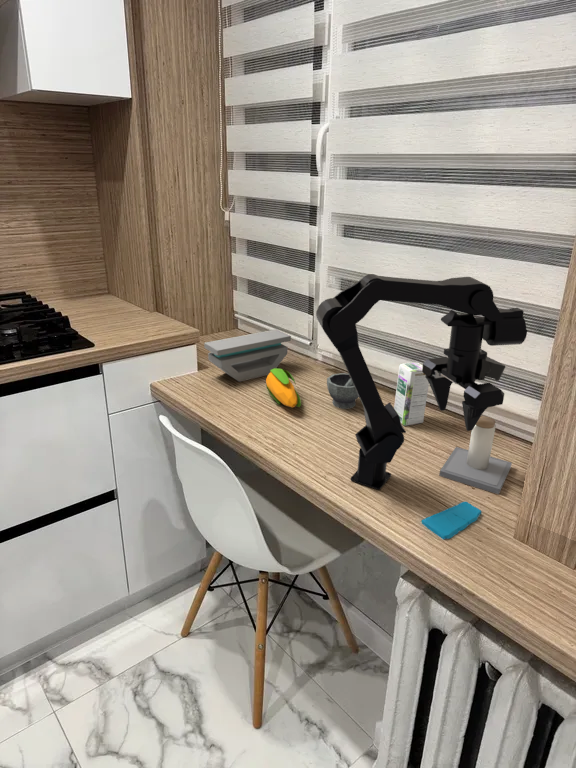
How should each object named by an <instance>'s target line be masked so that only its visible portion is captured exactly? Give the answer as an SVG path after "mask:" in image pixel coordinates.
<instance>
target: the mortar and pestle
mask: <svg viewBox="0 0 576 768" xmlns="http://www.w3.org/2000/svg"><path fill="white" fill-rule="evenodd" d="M326 387H327V391H328V394H329V396H330V398H332V405H333V407H335V408H338V409H342V410H346V409H347V410H348V409H353V408H354V407H356V402H357V401H356V400H357V399H358V398H359V396H358V394H357V391H356V389H355V387H354V385H353V382H352V380H351V378H350V376H349V373H344V372H341V373H334V374H330V375H329V376H328V377H327V378H326Z"/></svg>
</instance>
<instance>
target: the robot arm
mask: <svg viewBox="0 0 576 768" xmlns="http://www.w3.org/2000/svg"><path fill="white" fill-rule="evenodd" d="M379 301H386V302H397V303H398V302H399V303H411V304H421V305H424V304H425V305H435V306H441V307H445V308H448V309H451V310H450V311H449V312H448V313H447V314H445V315H443V316H442V317H441V318H440V321H441V322H442V323H444V324H445V325H446V326H447V327H451V329H450V337H449V345H448V348H444V349H443V354H444V355H445V356H442V357H434V358H428V359H426V360H425V361H424V362H423V363H422V365H423V368H422V372H423V373H424V374H426V375H425V377H426V379H427V380H428V382H429V387H430V389H431V391H432V393H433V395H434V398H435V402H436V404H437V406H438V409H439V411H443V412H444V411H445V410H446V409H447V406H448V402H449V396H450V391H451V386H452V384H453V383H454V384H455V385H458V386H460V387H462V388H463V389H464V391H463V395H462V396H463V399H464V400H462V401H461V404H462V411H463V412H462V413H463V418H464V425H465V430H466V431H468V432H469V431H470V432H472V430H473V428H474V426H475V425H476V423H477V422H478V420H479V418H480V417H481V416H483V413H484V412H485V411H486V410H487V409H488V408H492V407H496V406H503V403H504V399H505V392H504V391H503V390H502V389H501V388H498V387H497V386H495V385H494V384H493V383H490V382H485V383H477V382H476V381H477V380H478V381H483V380H486V379H485V378H486V377H487V378H490V379H493V380H495V381H497V382H498V381H500V379H501V377H502V376H503V373H504V371H505V369H506V365H505V364H503V363H501V362H500V361H497V360H496V359H493V358H491V357H489V356H488V352H487V351H486V350H484V349H482V344H483V341H485V342H486V344H487V345H489V346H490V347H494V346H496V347H497V346H509V345H510V346H512V345H522V344H523V343H524V342H525V341H526V338H527V335H528V330H527V323H526V320H525V318H524V312H525V311H524V310H523V309H521V308H519V307H510V308H507V309H499V307H498V306H497V305H496V304H495V301H494V291H493V290H492V288H491V286H490V285H488V284H486V283H484V282H483V281H480V280H478V279H475V277H471V276H459V277H451V278H446V279H443V280H430V279H429V280H428V279H418V278H416V279H415V278H406V277H405V278H403V277H395V276H394V277H393V276H381V275H377V274H373V273H368V274H366V275H364V276H363V277H362V278H361V279H359V280H358V281H356V283H354V284H352V285H350V286H349V287H347V288H345V289H343V290H341V291H340V292H338V293H337V294H336V295H335V296H334V297H333V298H327V299H324V300H323V301H322V302H321V303H320V304H319V305H318V306H317V309H316V312H315V316H316V319H317V322H318V323H319V325H320V326H321V328H322V330H323V332H324V333H325V335H326V336H327V338H328V339H329V340H330V342H331V343H332V345H333V347H335V349H336V350H337V352H338V353H339V355H340V358H341V360H342V362H343V365H344V367H345V369H346V371H347V374H349V376H350V378H351V380H352V382H353V385H354V387H355V389H356V391H357V394H358V396H359V397H358V398H359V400H360V402H361V404H362V407H363V415H364V420H365V425H364V426H363V427H362V428H361V429H360V430H358V432H356V433H355V439H356V442H357V443H358V445H359V447H360V448H359V450H358V462H357V470H356V471H355V472H354V473H353V474H352V476H351V477H350V481H352V482H354V483H357V484H361V485H363V486H366V487H369V488H372V489H374V490H378V491H379V490H382V488H383V487H384V485H385V484H386V483H387V481H389V479H390V478H391V477H392V473H391V472H389V471H387V464H388V463H392V460H393V458H394V457H395V455H396V453H397V451H398V450H399V449H400V448H401V447H402V446H403V444H404V442H405V436H404V434H406V433H407V430H406V429H405V428H404V425H403V424H402V423H401V422H400V418H399V415H398V413H397V412H396V411H395V409H394V405H392V403H391V402H388V403H387V404H385V405H384V403H383V400H382V397H381V394H380V393H379V390H378V388H377V386H376V383H375V382H374V381H375V380H374V379H373V377H372V374H371V372H370V369H369V367H368V365H367V363H366V359H365V357H364V355H363V353H362V351H361V349H360V345H359V336H358V335H359V334H358V330H357V324H358V323H359V322H360V321H362V320H363V319H364V318H365V316H366V315H367V314H368V313H369V312H370V310H371V309H372V308H374V306H375V305H376V304H377V303H379ZM457 312H460V313H457ZM476 316H477V317H476Z"/></svg>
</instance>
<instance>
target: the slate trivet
mask: <svg viewBox="0 0 576 768" xmlns="http://www.w3.org/2000/svg"><path fill="white" fill-rule="evenodd" d="M468 450H469V449H466V448H461V447H460V446H459V447H458V446H455V447H454V449H453V451H452V452H451V454H450V455H449V456H448V458H447V459H446V461H445V463H444V464H443V466H442V467H441V468H440V469H439V476H440V477H442V478H446V479H448V480H452V481H454V482H458V483H461V484H465V485H467V486H471V487H474V488H477V489H480V490H484V491H487V492H490V493H492V494H496V495H500V493H501V490H502V488H503V486H504V484H505V481H506V480H507V479H506V478H507V477H508V475H509V472H510V470H511V468H512V461H508V460H505V459H501V458H496V457H493V456H491V455H490V460H489V465H488V468H486V469H483V470H479V469H474V468H472V467H470V466H468V465H467V457H468Z"/></svg>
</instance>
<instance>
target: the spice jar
mask: <svg viewBox="0 0 576 768" xmlns="http://www.w3.org/2000/svg"><path fill="white" fill-rule="evenodd" d="M495 430H496V420H495V419H494V418H492V417H489V416H483V415H481V417H480V418H479V420H478V422H477V423H476V425H475V426H474V428H473V430H471V431H470V432H471V434H470V437H469V438H470V439H469V440H470V441H469V446H468V449H467V450H468V457H467V465H468V466H470V467H472V468H474V469H479V470H483V469H486V468H488V465H489V460H490V456H491V454H492V448H493V443H494V437H495V433H496V431H495Z"/></svg>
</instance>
